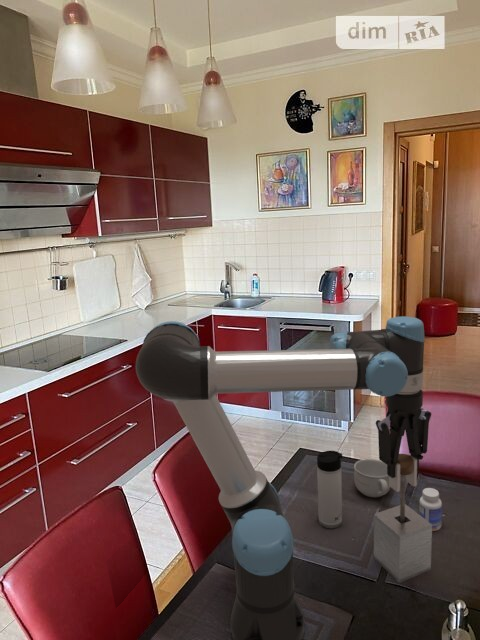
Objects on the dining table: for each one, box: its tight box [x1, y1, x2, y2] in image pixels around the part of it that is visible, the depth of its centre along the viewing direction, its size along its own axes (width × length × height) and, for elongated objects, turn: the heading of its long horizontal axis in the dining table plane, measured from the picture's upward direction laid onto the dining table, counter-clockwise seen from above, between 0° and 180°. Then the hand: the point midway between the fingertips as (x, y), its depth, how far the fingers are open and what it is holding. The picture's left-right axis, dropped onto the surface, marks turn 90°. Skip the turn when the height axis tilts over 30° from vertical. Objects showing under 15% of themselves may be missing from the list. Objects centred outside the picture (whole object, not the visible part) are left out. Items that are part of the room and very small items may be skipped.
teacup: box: [353, 458, 391, 498], centre depth 143 cm, size 14×11×8 cm
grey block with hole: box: [373, 503, 433, 584], centre depth 116 cm, size 9×11×12 cm
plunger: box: [397, 453, 413, 524], centre depth 112 cm, size 7×7×18 cm
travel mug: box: [316, 450, 343, 529], centre depth 130 cm, size 6×7×20 cm
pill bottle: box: [418, 487, 443, 532], centre depth 128 cm, size 5×5×10 cm
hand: (402, 485), depth 111 cm, fingers closed on plunger, 4 cm apart
